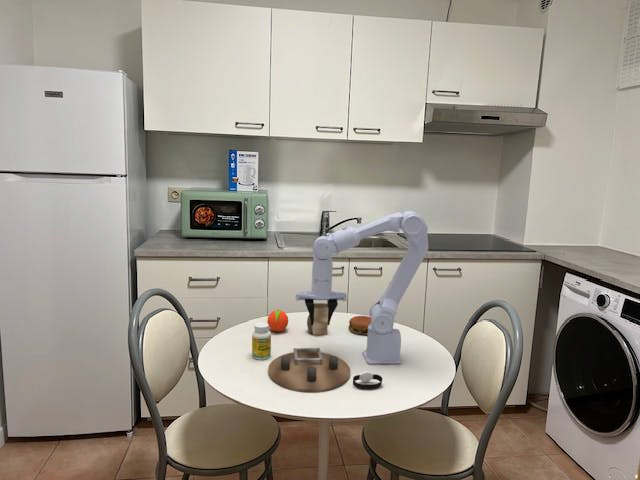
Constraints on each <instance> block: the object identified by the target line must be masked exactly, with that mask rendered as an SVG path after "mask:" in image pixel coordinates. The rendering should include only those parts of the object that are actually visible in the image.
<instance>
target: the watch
mask: <svg viewBox="0 0 640 480" xmlns="http://www.w3.org/2000/svg"><path fill="white" fill-rule="evenodd" d="M358 380H359V381H361V382H362V383H366V384H362V383H360V382H356V381H358ZM371 380H375V381H378V383H371V384H369V383H368V382H370V381H371ZM367 383H368V384H367ZM382 383H383V377H382V375H380V374H374V373H372V372H370V371H363V372H362V373H360V374H357V375H354V376H353V377H352V385H353V387H354V388H356V389H359V390H375V389H379V388H380V387H381V386H382Z"/></svg>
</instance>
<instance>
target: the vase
mask: <svg viewBox="0 0 640 480" xmlns="http://www.w3.org/2000/svg"><path fill="white" fill-rule="evenodd" d="M306 325H307V326H306V327H307V329H308V331H309V333H311V334H313V331H312V325H311V323H310V315H309V314H308V315H307V320H306Z"/></svg>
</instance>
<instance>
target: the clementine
mask: <svg viewBox="0 0 640 480" xmlns="http://www.w3.org/2000/svg"><path fill="white" fill-rule="evenodd" d="M266 321H267V322H266V323H267V324H269V329H270V330H272V331H273V332H282V331H284V330H285V329H286V328H287V327H288V325H289V317H288V315H287V313H286V312H284V311H283V310H280V309H276V310H273V311H272V312H270V313H269V315H268V317H267V320H266Z"/></svg>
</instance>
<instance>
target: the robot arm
mask: <svg viewBox="0 0 640 480" xmlns="http://www.w3.org/2000/svg"><path fill="white" fill-rule="evenodd" d="M387 231H389V232H393V233H397V234H400V231H402V232H403V234H404V235H405V238H406V241H407V244H408V248H407V250H406V252H405V254H404V256H403V257H402V260H401V262H400V264H399V266H398V267H397V269H396V270H395V273H394V274H393V276H392V278H391V280H390V282H389V283H388V286H387V288H386V289H385V291H384V293H383V294H382V295H381V296H380V297H379V299H377V301H376V302H375V303H374V304H372V306H370V309H369V317H371V323H370V325H369V326H368V335H367V337H366V338H367V340H366V350H362V353H363V356H364V358H365V360H366V362H367V364H369V365H372V364H374V365H375V364H376V365H377V364H380V365H381V364H382V365H385V364H386V365H387V364H401V350H402V349H401V348H402V337H401V336H402V334H401V331H400V329H398V328H394V324H395V323H394V322H395V321H394V320H395V317H396V315H397V313H398V307H399V304H400V303H401V300H402V299H403V296H404V295H405V293H406V292H407V290H408V288H409V287H410V284H411V283H412V281H413V278H414V277H415V275H416V274H417V272H418V270H419V268H420V266H421V264H422V262H423V261H424V258H425V256H426V255H427V253H428V252H429V238H428V231H429V230H428V226H427V223H426V221H425V219H424V218H423V217H422V216H421V215H420V214H419V213H418V212H416V211H415V210H413V209H405V210H403V211H397V212H395V213H390V214H389V215H386V216H384V217H382V218H379V219H377V220H374V221H372V222H370V223H368V224H365V225H362V226H359V227H358V228H356V227H354V226H347V225H344V226H342V227H341V229H340V230H337V231H334V232H331V233H330V232H327V233H326V235H321V236H319V237H317V238H316V239H315V241H314V243H313V245H312V252H313V253H312V254H313V257H312V261H313V262H312V265H311V266H312V269H311V270H312V272H311V290H309V291H299V292H298V291H296V292H295V301H296V302H298V301H304V303H305V307H306V309H307V310H308V316H309V315H310V323H311V325H313V323H314V318H313V313H314V303H315V302H314V301H327V302H326V303H327V305H328V326H330V324H331V319H332V316H333V314H334V312H335V310H336V309H337V308H338V304H339V303H338V301H342V302H347V299H348V298H347V296H348V295H347V292H339V291H332V287H333V286H332V285H333V268H334V267H333V255H334V254H339V253H341V252H343V251H346V250H349V249H352V248H355V247H357V246H359V244H360V242H361V240H364V239H365V238H368V237H372V236H374V235H378V234H382V233H384V232H387Z"/></svg>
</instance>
